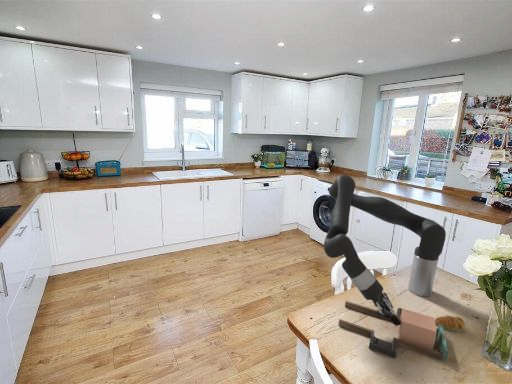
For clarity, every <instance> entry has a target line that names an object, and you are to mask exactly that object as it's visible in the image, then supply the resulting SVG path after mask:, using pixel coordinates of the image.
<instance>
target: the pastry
mask: <svg viewBox="0 0 512 384" xmlns="http://www.w3.org/2000/svg"><path fill="white" fill-rule="evenodd" d="M439 324H441V325H442V326H443V330H444V329H445V330H448V331H451V332H457V333H466V332H467V326H466V322H465V321H464V319H463V318H461V317H460V316H453V315H447V314H446V315H443V316H439V317H436V318H435V325H437V326H439Z"/></svg>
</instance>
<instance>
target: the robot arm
mask: <svg viewBox="0 0 512 384" xmlns="http://www.w3.org/2000/svg"><path fill="white" fill-rule="evenodd" d="M355 189H356V182H355V179H353V177H351V176H350V175H349V174H341V175H338V176H337V177H336V178H335V179H334V181H333V182H332V183H331V185H330V187H329V189H328V195H329V196H330V197H331V198H332V199H334V200H335V203H334V207H333V209H332V212H331V217H330V224H329V228H328V231H327V234H326V236H325V239H324V242H323V249H324V253H325V254H326V256H327V257H329V258H331V259H335V258H338V257H341V256H344V258H345V259H344V261H343V262H342V263H341V266H342V268H343V270H344V272H345V273H346V274H347V276H348V277H349V279H351V282H352V283H353V284H354V286H355V287H356V289H358V291H359V292H360V294H361V295H362V296H363V297H364V299H365V300H366V301H372V303H373V305H374V306H375V308H377V310H378V311H377V313H378V315H380V316H382V317H384V318H385V319H384V320H386V319H388V318H390V320H391V321H390V320H389V321H390V322H392V323H393V325H394V326H395V327H397V326H398V327H399V325H400V324H401V321H400V319H399V318H398V317H397V313H395V310H394V306H393V304H392V302H391V300H390V298H389V296H388V295H387V292H383V291H384V287H383V285H382V284H381V283H380V281H378V279H377V278H376V277H375V275H374V274H373V273H372V272H371V270H370V269H369V268H367V266H366V265H365V264H364V262H363V261H362V260H361V259H360V257H359V254H358V253H357V250H356V247H355V246H354V244H353V242H352V240H351V238H350V237H348V236H347V234H348V232H349V228H350V227H349V226H350V212H351V207H353V208H355V209H358V210H361V211H363V212H365V213H367V214H369V215H372V216H373V217H375V218H376V219H379V220H382V221H383V222H385V223H389V224H392V225H396V226H401V227H403V228H406V229H407V230H408V231H409V230H410V231H411V232H412V233H414V234H416V235H417V236H418V237H419V238H420V242H419V245H418V246H417V247H416V248H415V249H414V251H413V252H414V253H413V254H414V255H413V258H412V265H411V271H410V275H409V280H408V287H407V288H408V290H409V291H410V293H412V294H414V295H417V296H419V297H430V296H432V292H433V287H434V282H435V279H436V278H435V277H436V272H437V268H438V262H439V257H440V256H441V255H442V253H443V251H444V250H443V249H444V246H445V241H446V235H447V233H446V230H445V228H444V227H443V226H442V225H440V223H438V222H436V221H435V220H433V219H430V218H426V217H424V216H421V215H419V214H415V213H413V212H411V211H410V210H407V209H406V207H403V206H401V205H400V204H398V203H396V202H394V201H392V200H390V199H387V198H386V197H382V196H364V195H363V196H362V195H358V194H356V193H355Z"/></svg>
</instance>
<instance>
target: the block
mask: <svg viewBox="0 0 512 384" xmlns="http://www.w3.org/2000/svg"><path fill="white" fill-rule="evenodd" d="M435 320H436V318H435V317H432V316H429V315H426V314H422V313H419V312H415V311H412V310H408V309H404V308H402V312H401V314H400V321H401V324H400V325H398V339H401V340H404V341H407V342H410V343H413V344H416V345H419V346H422V347H425V348H428V349H431V350H434V348H435V347H434V346H435V342H436V337H437V335H436V333H437V331H436V328H437V326H436V325H437V324H436V323H435Z"/></svg>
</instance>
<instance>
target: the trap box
mask: <svg viewBox="0 0 512 384" xmlns="http://www.w3.org/2000/svg"><path fill="white" fill-rule="evenodd" d="M344 303H345V304H344V307H345V308H348V309H352V310H355V311H358V312H360V313H364V314H366V315H367V314H368V315H371V316H374V317H378V318H381V319H384V320H387V321H390V322H392V321H391V320H390V318H388V319H385V318H384V317H382V316H380V315H378V313H377V311H379V310H378V309H373V308H371V307H367V306H365V305H360V304H357V303H353V302H351V301H347V300H345V302H344ZM402 309H403V308H401V307H397V309H396V316H397V317H398V318H399V319H400V317H401V312H402ZM338 326H339V327H341V328H345V329H348V330H350V331H353V332H356V333H360V334H362V335H365V336H368V337H370V338H369V345H368V349H369V350H370V351H373V352H376V353H379V354H381V355H383V356H387V357H390V358H393V359H394V358H396V357H397V353H398V352H397V350H398V349H397V348H398V347H400V348H403V349H405V350H408V351H411V352H414V353H417V354H420V355H424V356H426V357H429V358H431V359H434V360H437V361H441V362H443V363H446V361H447V358H448V354H449V351H448V350H449V349H448V345H447V341H446V340H447V339H446V336H445V331H444V328H443V326H442V325H441V324H439V326H438V325H437V326H438V327H436V331H437V333H436V337H437V342H438V347H439V352H438V351H436V350H434V349H433V350H431V349H428V348H425V347H422V346H419V345H416V344H413V343H410V342H407V341H404V340H401V339H399V337H395V336H394V337H393V339H392V342H390V341H387V340H384V339H381V338H378V337H375V331H376V330H373V329H370V328H367V327H364V326H361V325H359V324H355V323H352V322H349V321H346V320H344V319H340V318H339V320H338Z"/></svg>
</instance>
